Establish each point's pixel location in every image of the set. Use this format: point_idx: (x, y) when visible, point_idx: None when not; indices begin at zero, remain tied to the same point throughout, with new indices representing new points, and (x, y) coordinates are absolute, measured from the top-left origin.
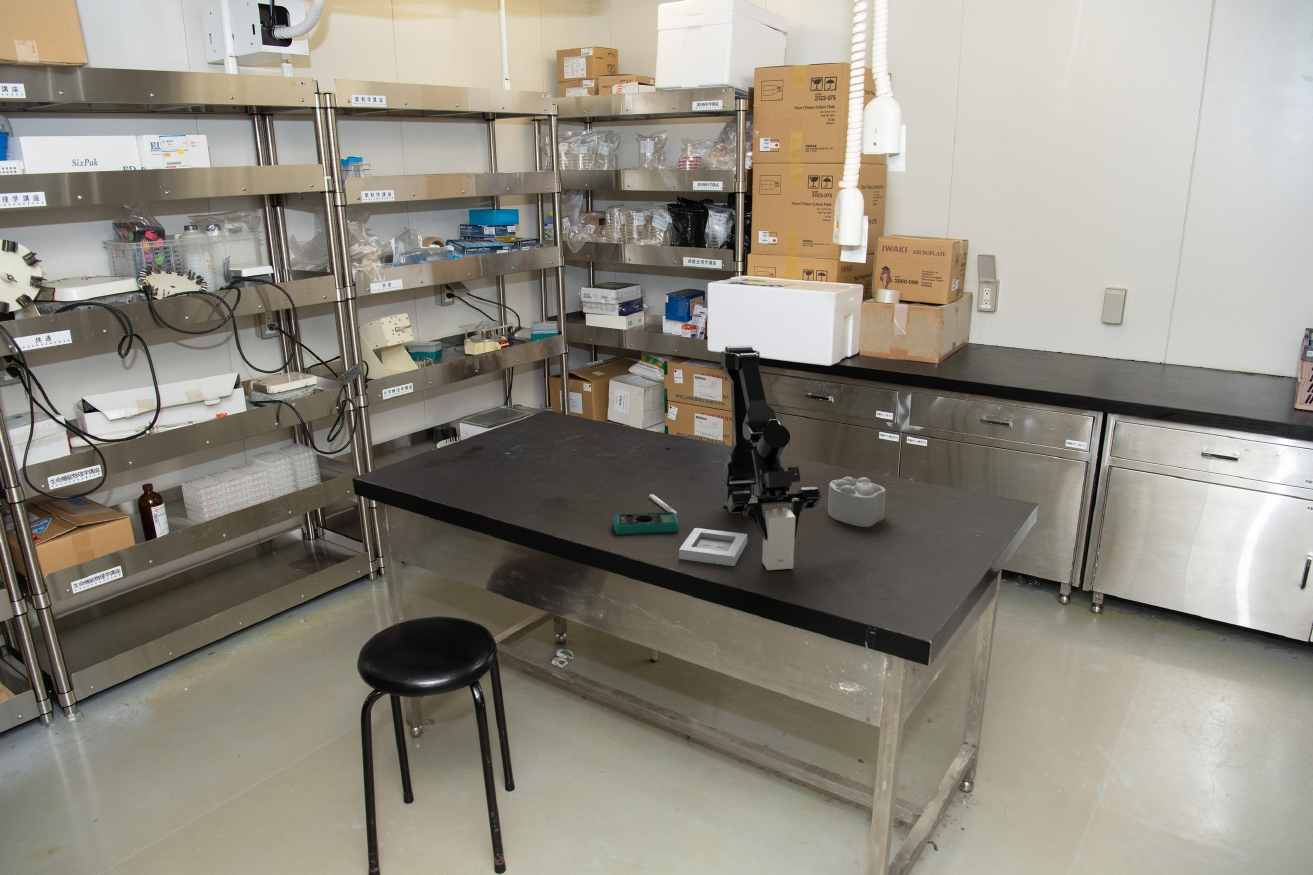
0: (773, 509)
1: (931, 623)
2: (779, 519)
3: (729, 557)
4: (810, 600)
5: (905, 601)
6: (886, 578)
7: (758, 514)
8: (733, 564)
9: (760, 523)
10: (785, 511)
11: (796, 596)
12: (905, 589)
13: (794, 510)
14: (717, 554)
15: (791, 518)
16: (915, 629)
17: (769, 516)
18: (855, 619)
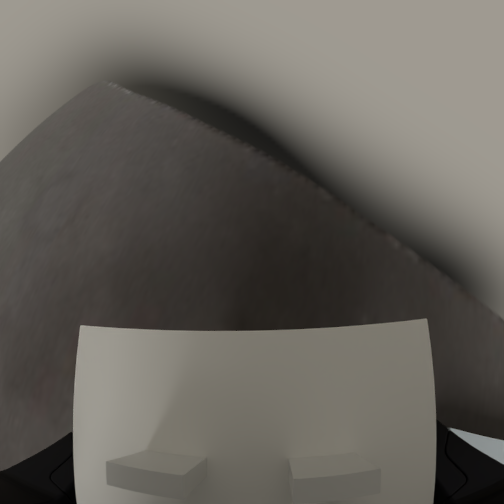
0: (371, 465)
1: (59, 112)
2: (286, 331)
3: (462, 431)
4: (226, 173)
5: (38, 170)
6: (3, 269)
7: (489, 476)
8: None
9: (442, 424)
10: (151, 455)
11: (259, 195)
12: (7, 215)
13: (44, 495)
14: (498, 439)
15: (130, 330)
16: (91, 95)
17: (411, 388)
18: (163, 108)
